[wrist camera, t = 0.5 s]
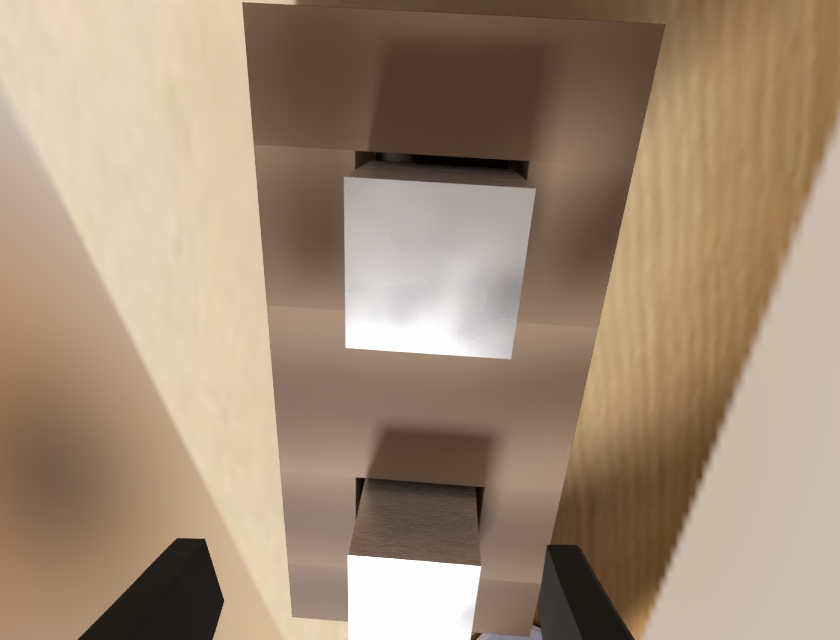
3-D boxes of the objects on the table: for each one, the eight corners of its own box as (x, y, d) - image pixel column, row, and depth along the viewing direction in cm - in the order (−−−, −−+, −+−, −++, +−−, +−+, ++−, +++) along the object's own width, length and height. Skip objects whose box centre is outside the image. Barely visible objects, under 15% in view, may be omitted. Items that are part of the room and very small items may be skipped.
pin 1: (496, 302, 15) (511, 359, 11) (368, 293, 15) (345, 347, 12) (512, 168, 13) (535, 188, 10) (370, 160, 13) (343, 176, 10)
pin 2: (464, 554, 19) (468, 651, 16) (366, 546, 19) (349, 641, 16) (474, 477, 18) (480, 566, 14) (367, 468, 18) (348, 555, 14)
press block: (516, 555, 24) (529, 637, 20) (316, 539, 24) (292, 616, 20) (611, 46, 15) (665, 24, 11) (291, 29, 15) (242, 2, 11)
